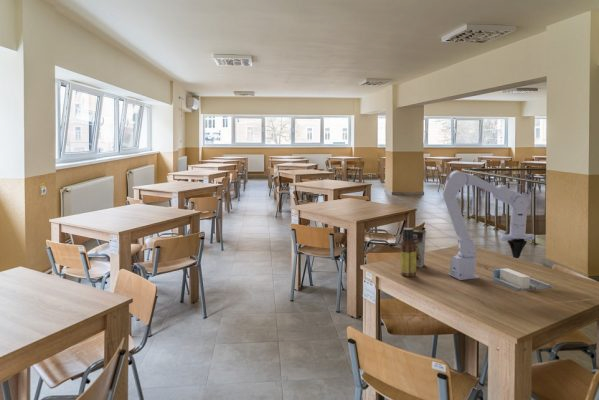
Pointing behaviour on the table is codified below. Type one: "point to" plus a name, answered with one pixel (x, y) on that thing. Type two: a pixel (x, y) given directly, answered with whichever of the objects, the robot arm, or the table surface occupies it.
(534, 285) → the board
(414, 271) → the sauce bottle
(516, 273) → the cream rectangular block
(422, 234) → the coffee box
